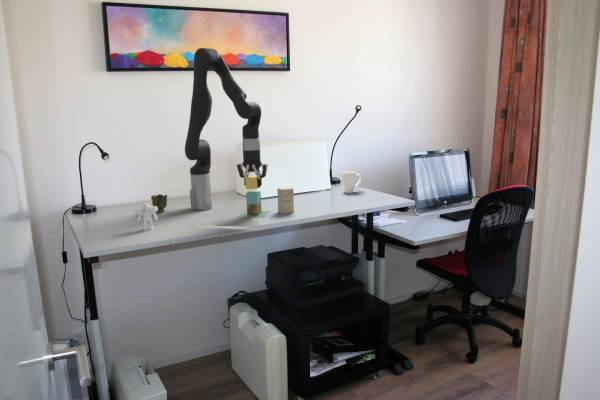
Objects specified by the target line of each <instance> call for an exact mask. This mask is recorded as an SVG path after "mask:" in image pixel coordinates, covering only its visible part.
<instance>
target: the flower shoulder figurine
mask: <svg viewBox="0 0 600 400" xmlns="http://www.w3.org/2000/svg"><path fill="white" fill-rule="evenodd" d="M152 201H153V200H149V201H148V202H144V203H143V204H142V206H141V207H136V208H135V210H134V211H135V215H136V214H138V217H137V223H139V222H140V221H142V219H141V218H143V231H147V230H154V225H153V220H155V221H156V222H157V221H158V219H159V218H158V216H157V211H158V208H157V206H154V207H153V206H152V205H150V204H151V203H152ZM152 216H153V218H152Z"/></svg>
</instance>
